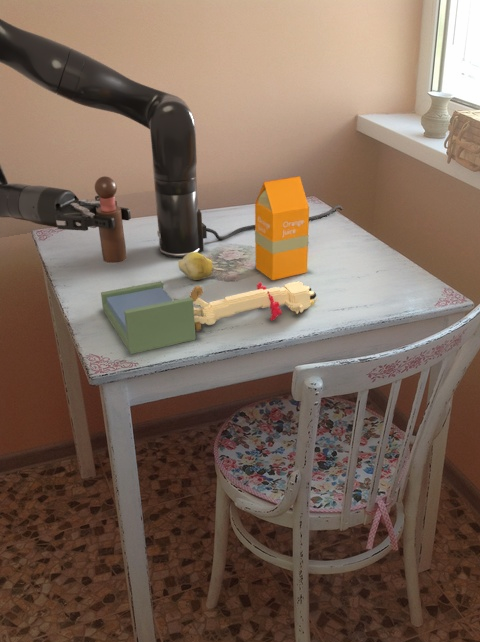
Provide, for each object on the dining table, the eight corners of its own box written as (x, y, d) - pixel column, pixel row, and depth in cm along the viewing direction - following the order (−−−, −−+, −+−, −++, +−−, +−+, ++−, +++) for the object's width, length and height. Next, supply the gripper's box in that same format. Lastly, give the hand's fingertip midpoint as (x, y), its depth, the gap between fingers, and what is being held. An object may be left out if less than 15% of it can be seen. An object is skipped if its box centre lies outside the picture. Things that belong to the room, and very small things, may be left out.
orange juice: (307, 272, 152) (310, 180, 141) (272, 280, 148) (272, 187, 137) (289, 260, 158) (290, 171, 147) (254, 267, 154) (253, 176, 143)
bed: (162, 299, 140) (159, 262, 136) (195, 339, 126) (193, 299, 122) (103, 311, 135) (97, 272, 131) (131, 354, 122) (125, 313, 117)
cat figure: (200, 343, 128) (326, 312, 134) (194, 300, 123) (324, 271, 129) (187, 319, 135) (306, 291, 142) (180, 278, 130) (304, 251, 137)
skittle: (123, 252, 141) (113, 172, 132) (129, 260, 138) (119, 178, 129) (100, 256, 139) (88, 175, 131) (106, 264, 136) (95, 181, 127)
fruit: (228, 280, 148) (182, 281, 144) (218, 277, 153) (174, 278, 149) (228, 252, 147) (182, 252, 143) (218, 251, 152) (174, 251, 148)
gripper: (20, 198, 131) (96, 211, 125) (68, 177, 142) (140, 188, 137) (28, 236, 135) (102, 250, 130) (74, 213, 146) (144, 225, 141)
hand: (121, 218), depth 133 cm, fingers closed on skittle, 4 cm apart
